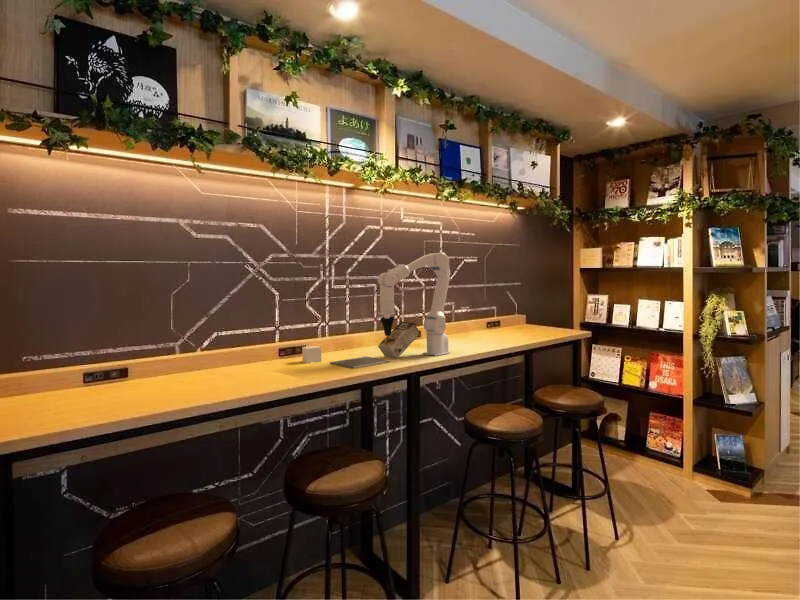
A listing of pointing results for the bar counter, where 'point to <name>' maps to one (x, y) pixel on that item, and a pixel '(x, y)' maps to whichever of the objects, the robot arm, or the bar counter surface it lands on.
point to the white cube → (311, 354)
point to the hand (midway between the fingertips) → (388, 334)
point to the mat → (359, 362)
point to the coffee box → (399, 339)
